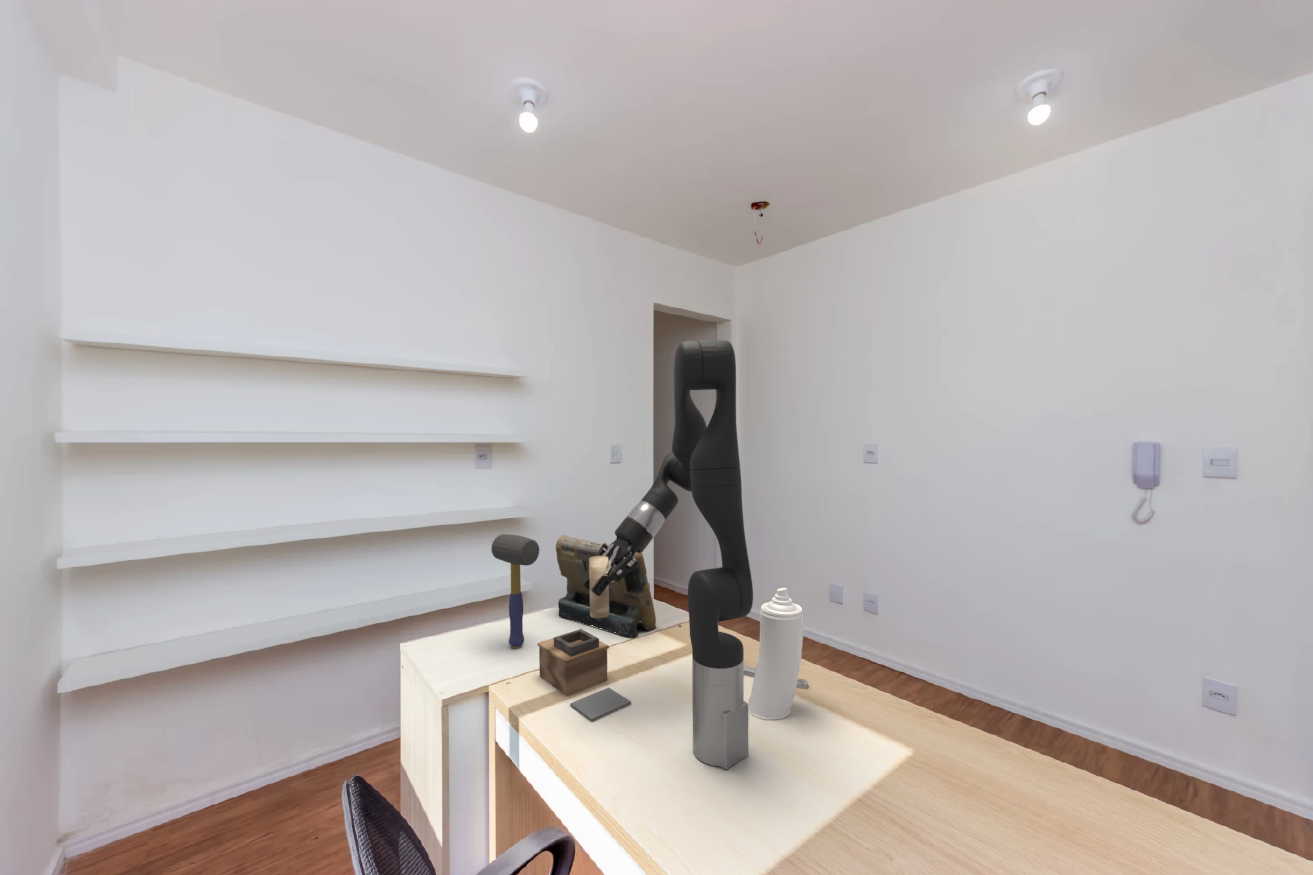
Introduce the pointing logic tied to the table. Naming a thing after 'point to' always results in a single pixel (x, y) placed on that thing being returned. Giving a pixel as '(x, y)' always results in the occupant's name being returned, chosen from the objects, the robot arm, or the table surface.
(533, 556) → the rubber mallet
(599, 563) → the wooden cylinder
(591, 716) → the rubber mat
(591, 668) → the wooden box
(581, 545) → the tablet
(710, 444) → the robot arm
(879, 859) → the table surface
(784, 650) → the spray can
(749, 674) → the adjustable wrench
